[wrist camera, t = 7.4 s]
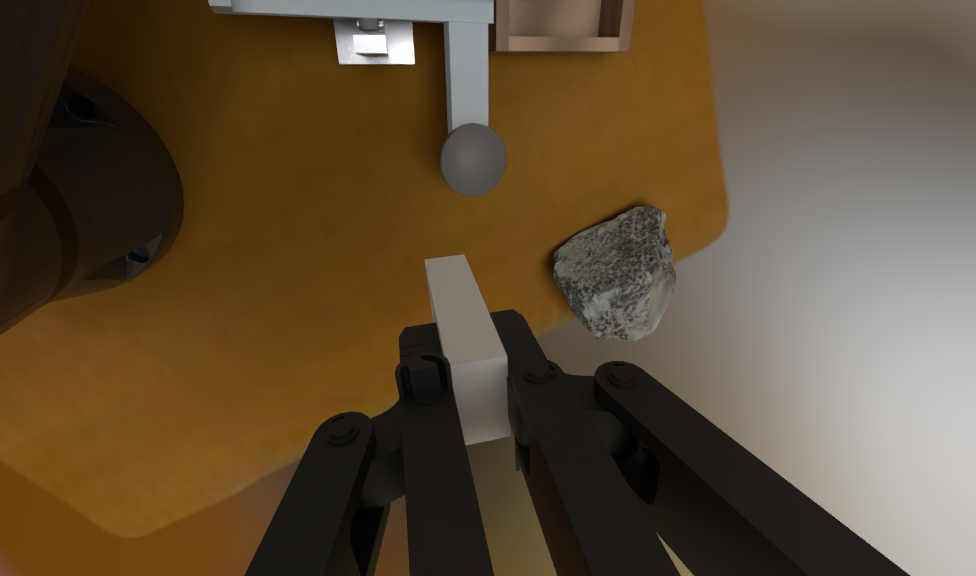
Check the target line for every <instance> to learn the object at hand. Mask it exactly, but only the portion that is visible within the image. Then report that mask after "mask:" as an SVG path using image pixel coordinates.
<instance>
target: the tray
mask: <svg viewBox="0 0 976 576" xmlns="http://www.w3.org/2000/svg"><path fill="white" fill-rule="evenodd" d="M634 6H635V0H494V23H493V24H488V53H580V54H605V53H617V52H629V46H630V38H631V30H632V22H633V14H634Z"/></svg>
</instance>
